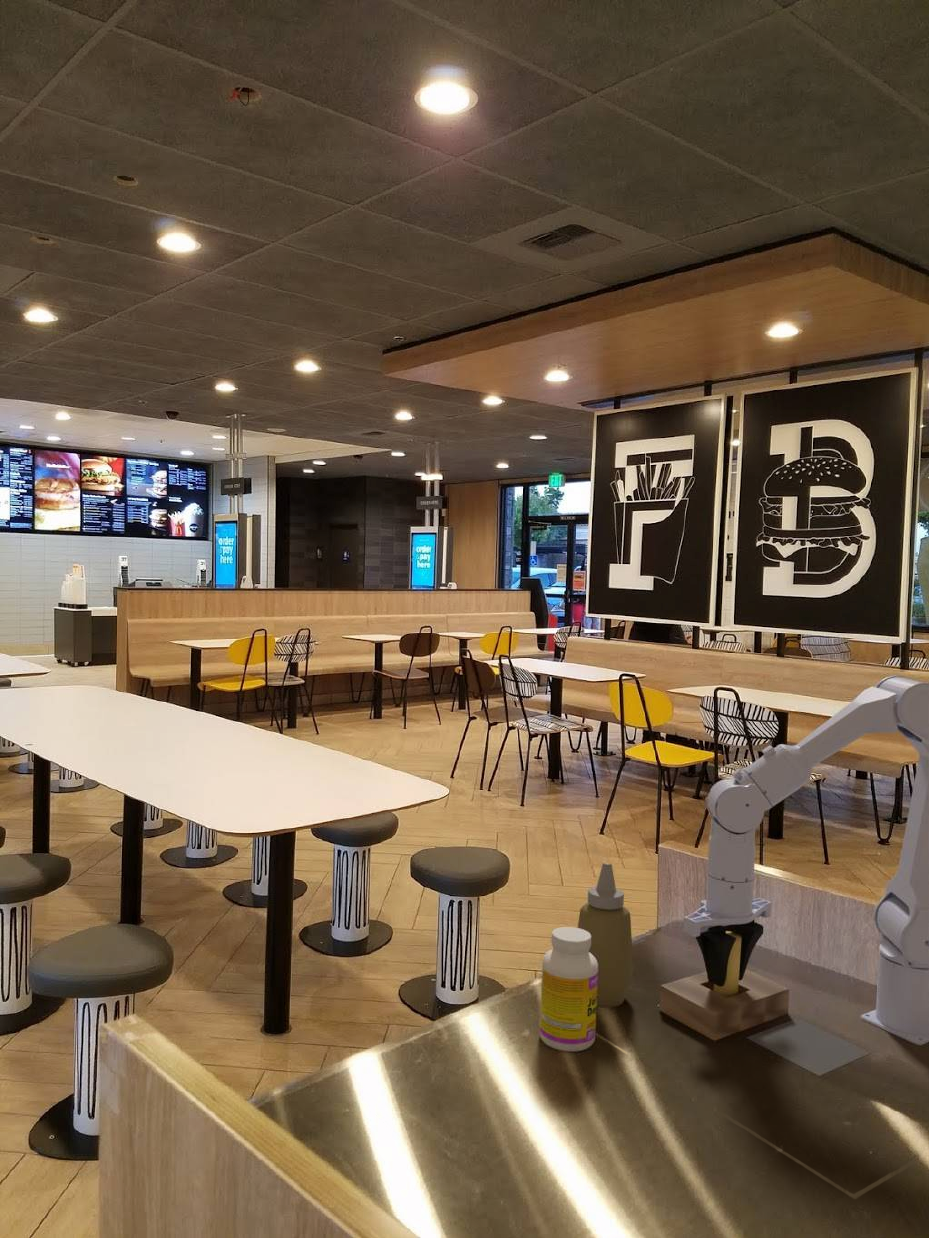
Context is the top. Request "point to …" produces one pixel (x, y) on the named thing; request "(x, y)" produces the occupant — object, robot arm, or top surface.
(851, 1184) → the top surface
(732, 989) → the peg
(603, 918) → the squeeze bottle
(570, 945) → the supplement bottle
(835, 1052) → the mat
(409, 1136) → the top surface
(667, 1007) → the walnut block
